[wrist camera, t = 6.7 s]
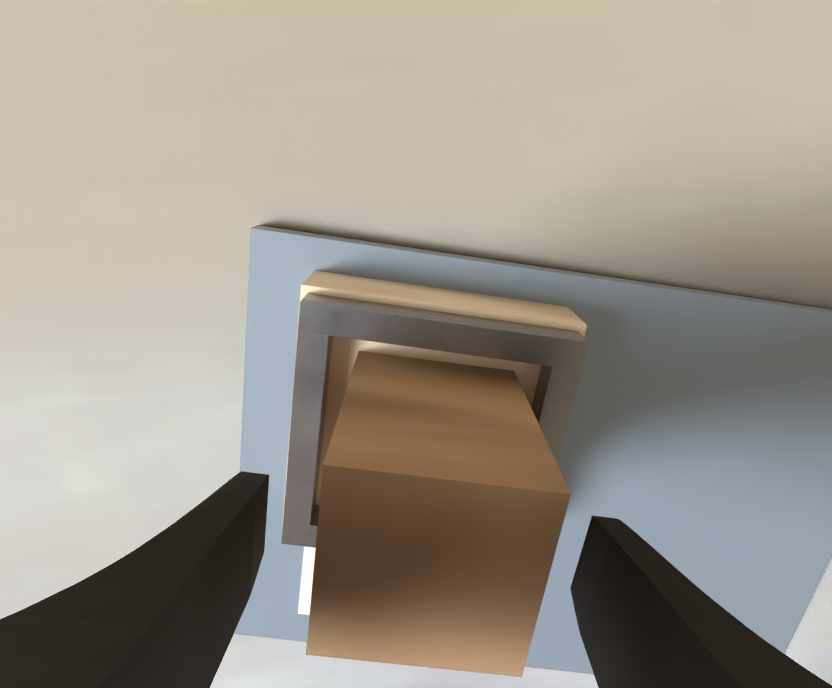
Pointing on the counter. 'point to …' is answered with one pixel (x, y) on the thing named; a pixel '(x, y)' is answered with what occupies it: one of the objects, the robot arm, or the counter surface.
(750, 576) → the board
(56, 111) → the counter surface
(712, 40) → the counter surface
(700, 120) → the counter surface
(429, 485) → the walnut block
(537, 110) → the counter surface
